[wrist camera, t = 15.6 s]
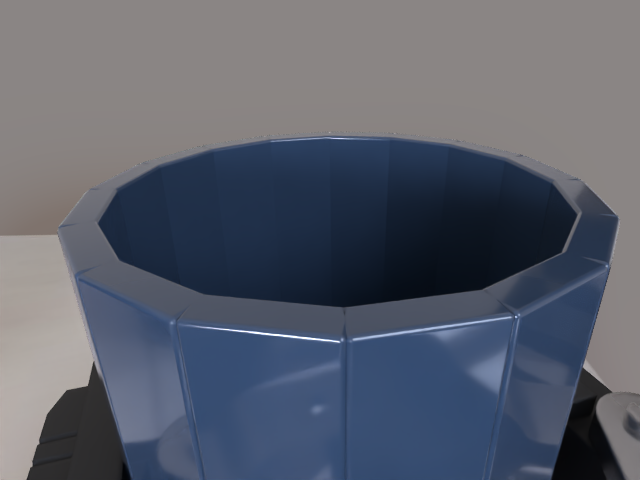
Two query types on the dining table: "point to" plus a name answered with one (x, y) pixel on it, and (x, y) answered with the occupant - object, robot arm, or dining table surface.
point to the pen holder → (339, 308)
